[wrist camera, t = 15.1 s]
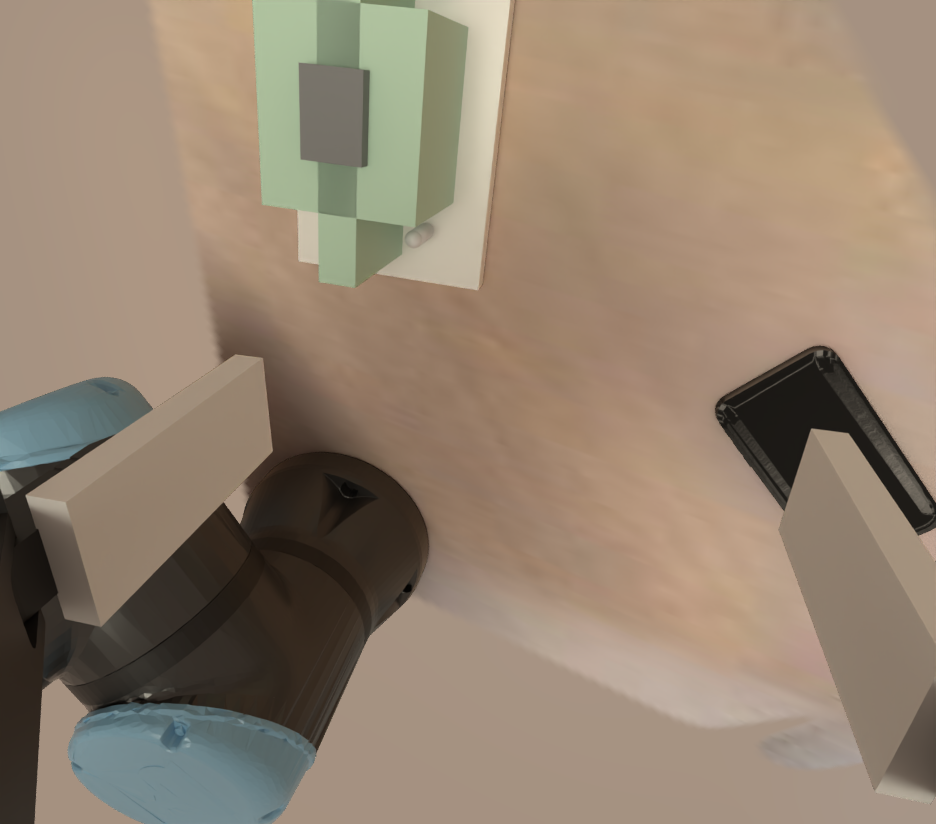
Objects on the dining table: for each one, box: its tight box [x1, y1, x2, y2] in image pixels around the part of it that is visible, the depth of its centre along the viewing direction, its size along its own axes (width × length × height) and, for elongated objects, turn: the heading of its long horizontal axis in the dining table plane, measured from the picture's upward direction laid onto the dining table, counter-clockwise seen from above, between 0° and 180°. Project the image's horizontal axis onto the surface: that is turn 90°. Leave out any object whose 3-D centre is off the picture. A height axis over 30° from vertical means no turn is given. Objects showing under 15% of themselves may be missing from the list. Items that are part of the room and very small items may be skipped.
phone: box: [715, 346, 936, 536], centre depth 42 cm, size 8×1×15 cm
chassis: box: [297, 0, 515, 290], centre depth 36 cm, size 19×12×5 cm, turn 174°
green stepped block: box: [252, 0, 468, 288], centre depth 33 cm, size 16×8×9 cm, turn 174°
